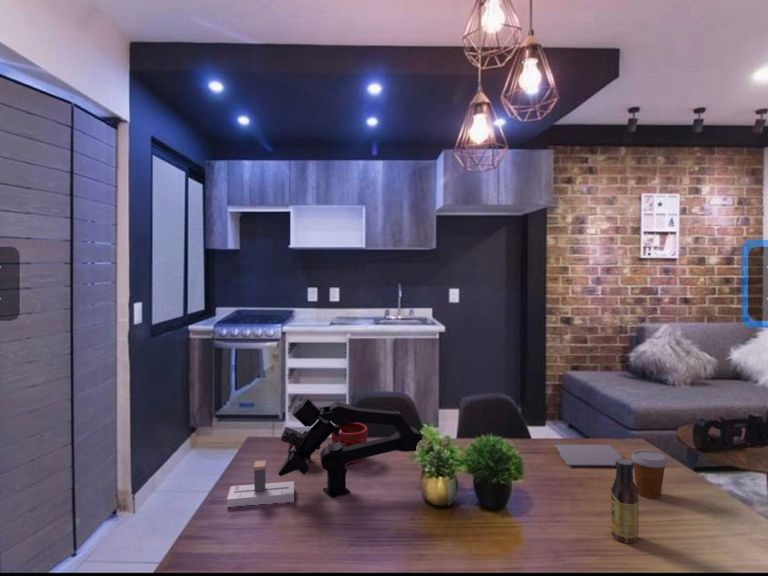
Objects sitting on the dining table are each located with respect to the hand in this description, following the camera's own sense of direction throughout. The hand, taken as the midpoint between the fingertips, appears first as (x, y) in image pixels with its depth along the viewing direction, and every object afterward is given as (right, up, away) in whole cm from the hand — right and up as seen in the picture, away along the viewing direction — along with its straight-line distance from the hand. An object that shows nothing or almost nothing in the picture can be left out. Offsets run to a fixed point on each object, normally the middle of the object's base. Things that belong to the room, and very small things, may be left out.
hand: (279, 474), depth 147 cm
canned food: (+1, -6, +29) cm, 30 cm away
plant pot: (+19, -6, +30) cm, 36 cm away
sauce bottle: (+93, -7, -24) cm, 96 cm away
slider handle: (-6, -4, -1) cm, 7 cm away
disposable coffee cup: (+112, -6, +1) cm, 113 cm away
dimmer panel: (-5, -7, -1) cm, 8 cm away
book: (+106, -6, +29) cm, 110 cm away
